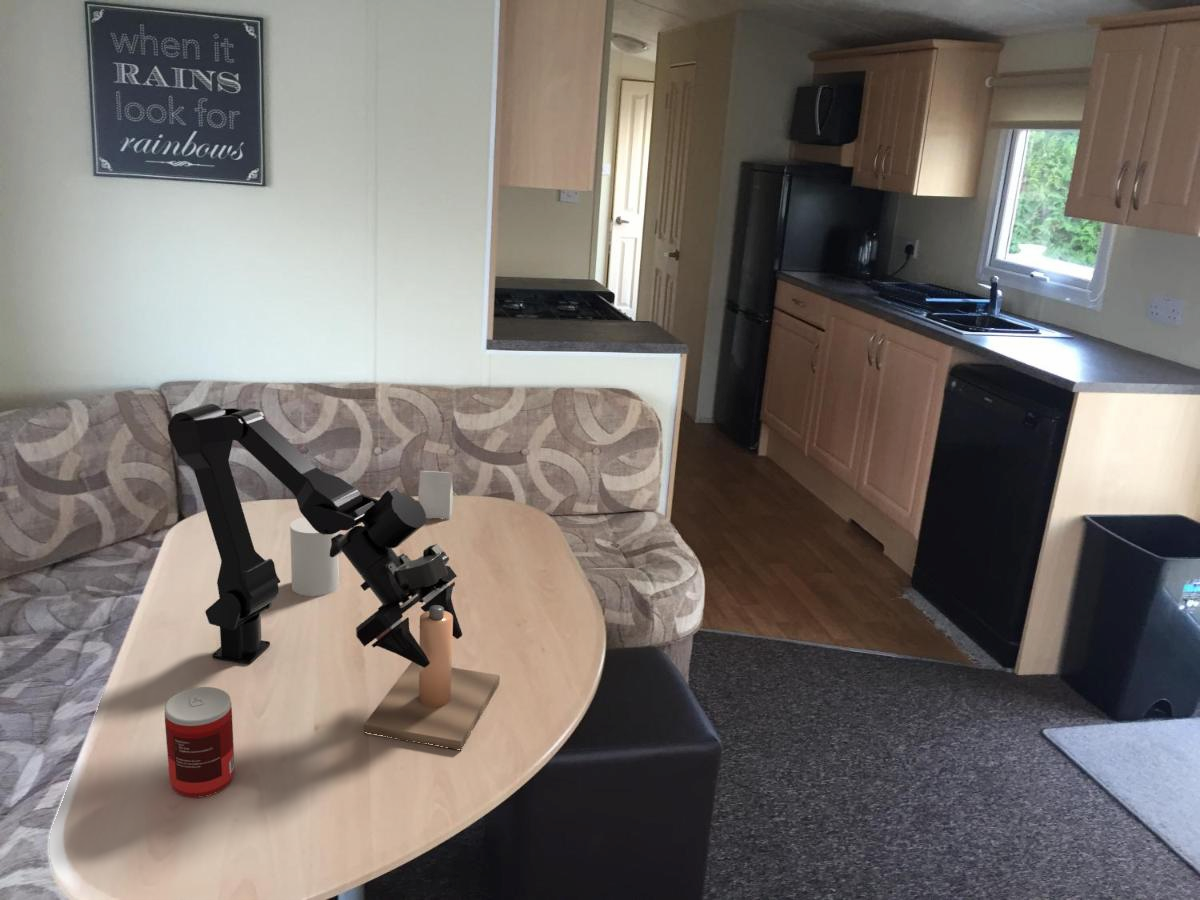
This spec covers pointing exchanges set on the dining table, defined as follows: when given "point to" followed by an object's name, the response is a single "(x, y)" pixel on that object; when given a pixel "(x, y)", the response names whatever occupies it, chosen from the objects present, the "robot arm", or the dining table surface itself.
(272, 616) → the dining table surface
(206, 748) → the canned food
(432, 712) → the cardboard sheet
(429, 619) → the peach bottle with cap
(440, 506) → the light grey box
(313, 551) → the white cylinder
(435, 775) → the dining table surface
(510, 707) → the dining table surface
